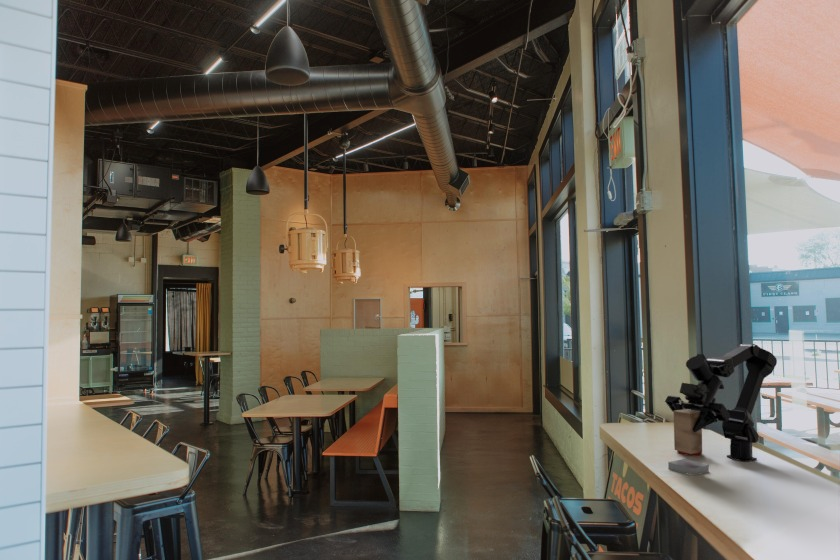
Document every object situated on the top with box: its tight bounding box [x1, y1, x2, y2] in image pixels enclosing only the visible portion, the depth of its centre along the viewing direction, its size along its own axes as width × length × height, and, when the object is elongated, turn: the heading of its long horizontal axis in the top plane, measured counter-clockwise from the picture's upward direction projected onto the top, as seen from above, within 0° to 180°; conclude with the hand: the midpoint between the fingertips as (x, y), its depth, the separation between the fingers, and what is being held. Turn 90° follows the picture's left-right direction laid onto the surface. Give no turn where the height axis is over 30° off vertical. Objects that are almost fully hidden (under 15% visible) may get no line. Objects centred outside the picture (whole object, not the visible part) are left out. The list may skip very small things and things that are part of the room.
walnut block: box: [673, 409, 703, 454], centre depth 168 cm, size 6×6×12 cm
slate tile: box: [667, 458, 710, 476], centre depth 167 cm, size 8×8×2 cm
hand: (684, 429), depth 167 cm, fingers closed on walnut block, 5 cm apart
